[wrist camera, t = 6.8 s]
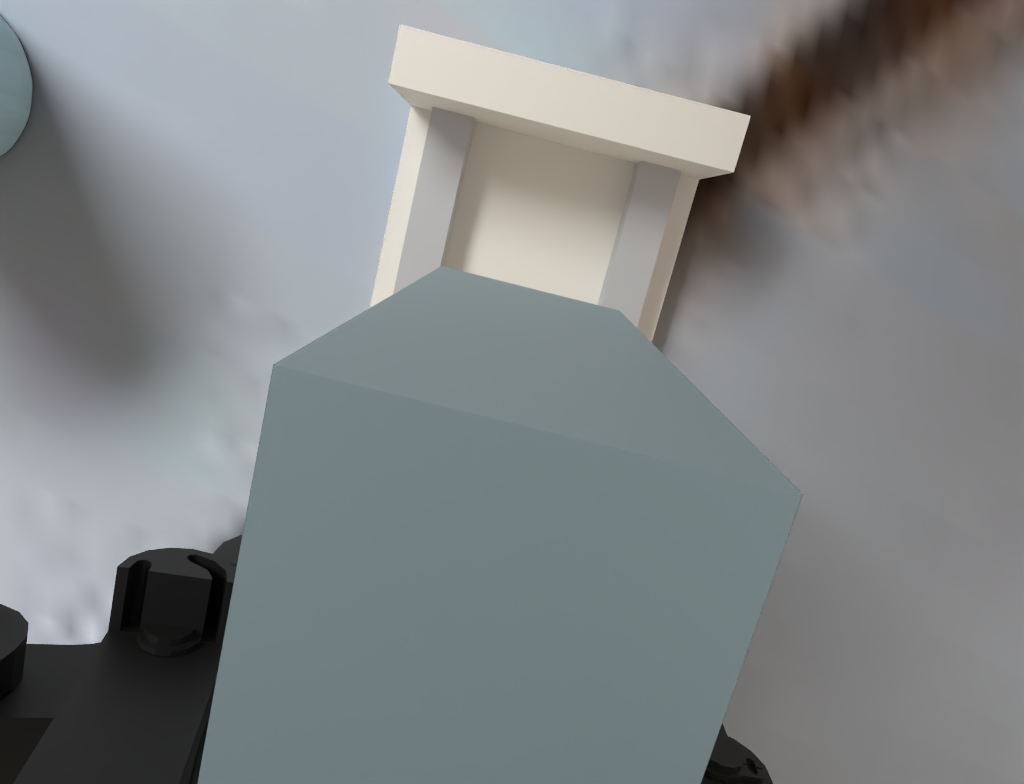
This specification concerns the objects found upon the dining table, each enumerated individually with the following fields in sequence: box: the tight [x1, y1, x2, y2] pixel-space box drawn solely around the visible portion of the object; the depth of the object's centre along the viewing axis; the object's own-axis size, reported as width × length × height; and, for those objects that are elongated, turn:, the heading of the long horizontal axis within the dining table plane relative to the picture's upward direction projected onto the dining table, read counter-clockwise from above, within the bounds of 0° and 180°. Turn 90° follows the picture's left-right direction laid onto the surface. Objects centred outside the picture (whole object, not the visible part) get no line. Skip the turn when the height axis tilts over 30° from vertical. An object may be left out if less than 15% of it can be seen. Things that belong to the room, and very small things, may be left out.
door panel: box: [197, 266, 803, 784], centre depth 11 cm, size 10×4×10 cm, turn 166°
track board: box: [370, 24, 751, 343], centre depth 19 cm, size 22×9×15 cm, turn 166°
